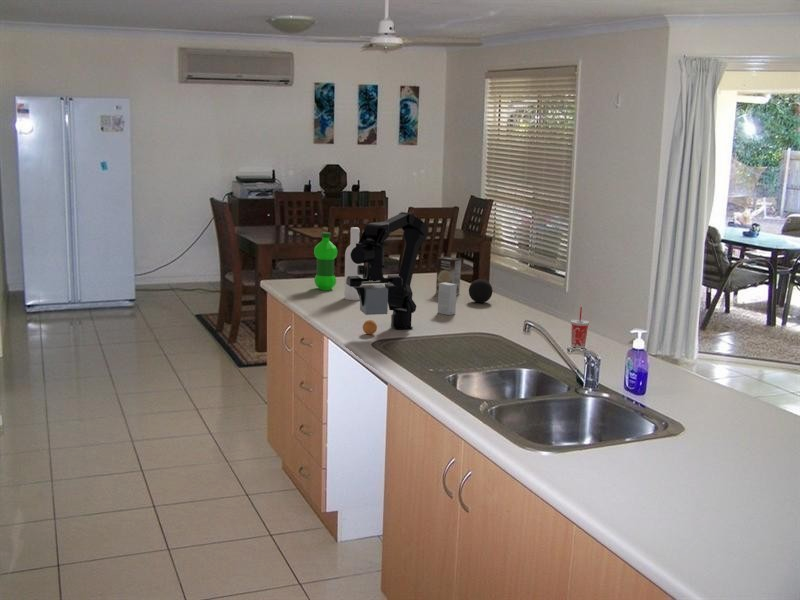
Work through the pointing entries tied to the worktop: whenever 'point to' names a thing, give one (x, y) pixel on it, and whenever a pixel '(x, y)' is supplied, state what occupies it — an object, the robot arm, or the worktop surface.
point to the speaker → (480, 291)
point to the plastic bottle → (325, 262)
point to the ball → (369, 327)
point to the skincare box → (447, 298)
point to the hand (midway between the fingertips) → (374, 305)
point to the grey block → (375, 300)
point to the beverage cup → (579, 332)
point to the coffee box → (448, 272)
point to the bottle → (351, 266)
